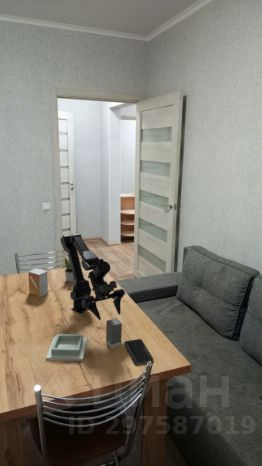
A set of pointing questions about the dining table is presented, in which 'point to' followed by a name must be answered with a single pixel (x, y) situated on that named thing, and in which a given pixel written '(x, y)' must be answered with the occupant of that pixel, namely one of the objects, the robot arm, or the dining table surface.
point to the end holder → (67, 347)
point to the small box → (38, 282)
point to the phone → (138, 351)
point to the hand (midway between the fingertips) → (110, 317)
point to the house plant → (68, 270)
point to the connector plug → (113, 332)
